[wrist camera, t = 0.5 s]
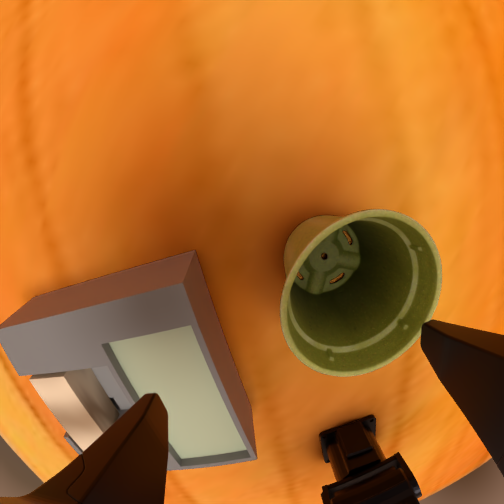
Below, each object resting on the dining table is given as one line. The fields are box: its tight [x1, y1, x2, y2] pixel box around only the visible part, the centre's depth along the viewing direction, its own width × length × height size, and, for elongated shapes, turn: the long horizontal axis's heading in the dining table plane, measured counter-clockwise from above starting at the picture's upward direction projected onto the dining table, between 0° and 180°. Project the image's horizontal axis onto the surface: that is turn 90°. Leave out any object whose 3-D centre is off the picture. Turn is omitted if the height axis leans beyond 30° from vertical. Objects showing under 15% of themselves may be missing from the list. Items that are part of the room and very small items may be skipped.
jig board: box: [0, 250, 257, 470], centre depth 21 cm, size 16×16×6 cm
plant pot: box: [280, 209, 442, 377], centre depth 19 cm, size 9×9×9 cm
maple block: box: [29, 368, 120, 451], centre depth 20 cm, size 9×4×4 cm, turn 15°
